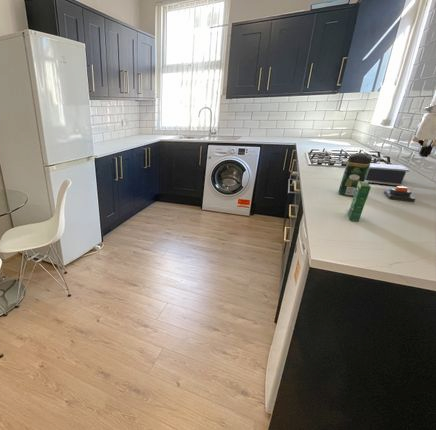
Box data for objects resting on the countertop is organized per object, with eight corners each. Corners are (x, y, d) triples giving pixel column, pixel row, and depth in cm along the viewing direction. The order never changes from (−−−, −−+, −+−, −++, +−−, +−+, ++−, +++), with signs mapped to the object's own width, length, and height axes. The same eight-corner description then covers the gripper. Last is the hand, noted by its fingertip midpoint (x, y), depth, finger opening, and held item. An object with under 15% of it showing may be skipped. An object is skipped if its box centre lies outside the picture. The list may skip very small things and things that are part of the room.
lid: (402, 167, 143) (402, 165, 143) (408, 171, 134) (409, 169, 134) (365, 164, 150) (366, 162, 150) (369, 168, 141) (370, 166, 141)
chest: (393, 182, 147) (399, 167, 144) (399, 187, 138) (406, 172, 135) (360, 178, 153) (365, 164, 150) (364, 183, 144) (369, 168, 141)
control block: (383, 193, 129) (386, 186, 128) (407, 196, 125) (410, 188, 124) (388, 199, 121) (391, 191, 120) (413, 202, 118) (417, 194, 116)
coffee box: (347, 213, 107) (358, 180, 102) (356, 215, 105) (368, 181, 100) (348, 220, 101) (360, 185, 96) (358, 222, 99) (371, 186, 94)
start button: (394, 189, 125) (395, 185, 124) (405, 190, 123) (406, 186, 122) (396, 191, 122) (397, 187, 121) (407, 192, 120) (409, 188, 119)
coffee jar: (339, 190, 134) (351, 151, 127) (360, 193, 129) (374, 153, 122) (336, 194, 128) (349, 153, 121) (358, 198, 123) (373, 156, 116)
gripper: (418, 110, 112) (401, 156, 119) (474, 110, 104) (452, 159, 112) (413, 110, 118) (397, 153, 125) (465, 109, 110) (445, 156, 117)
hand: (423, 156), depth 118 cm, fingers closed
